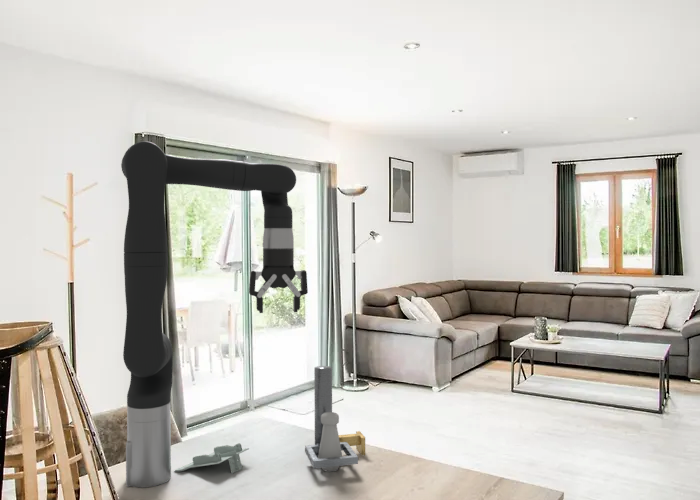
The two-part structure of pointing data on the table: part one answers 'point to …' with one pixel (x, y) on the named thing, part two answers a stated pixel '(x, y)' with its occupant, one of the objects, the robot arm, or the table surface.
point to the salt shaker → (330, 439)
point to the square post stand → (322, 406)
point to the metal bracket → (218, 458)
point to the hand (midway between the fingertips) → (278, 312)
